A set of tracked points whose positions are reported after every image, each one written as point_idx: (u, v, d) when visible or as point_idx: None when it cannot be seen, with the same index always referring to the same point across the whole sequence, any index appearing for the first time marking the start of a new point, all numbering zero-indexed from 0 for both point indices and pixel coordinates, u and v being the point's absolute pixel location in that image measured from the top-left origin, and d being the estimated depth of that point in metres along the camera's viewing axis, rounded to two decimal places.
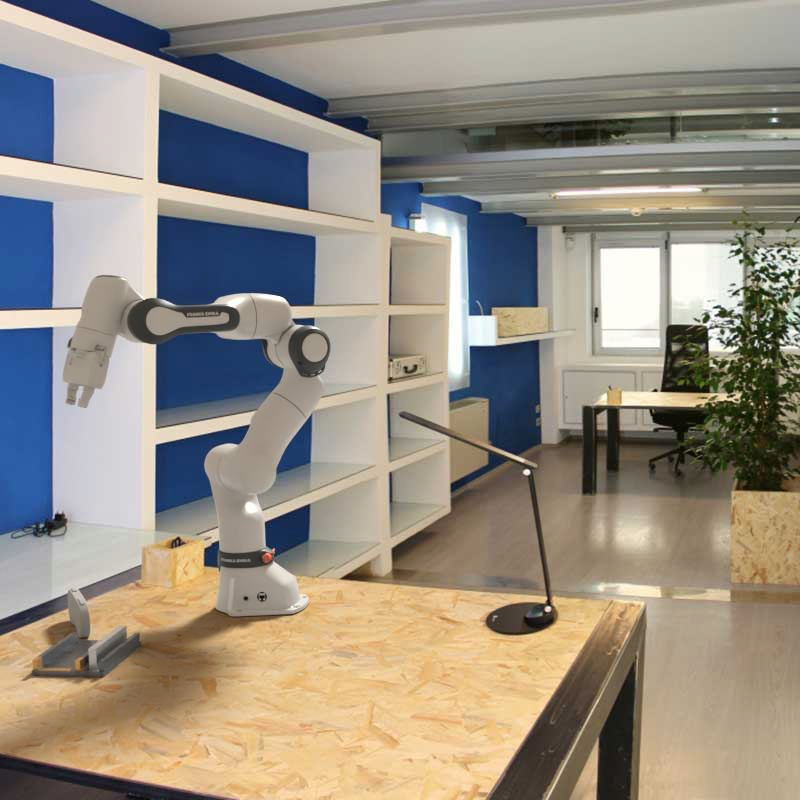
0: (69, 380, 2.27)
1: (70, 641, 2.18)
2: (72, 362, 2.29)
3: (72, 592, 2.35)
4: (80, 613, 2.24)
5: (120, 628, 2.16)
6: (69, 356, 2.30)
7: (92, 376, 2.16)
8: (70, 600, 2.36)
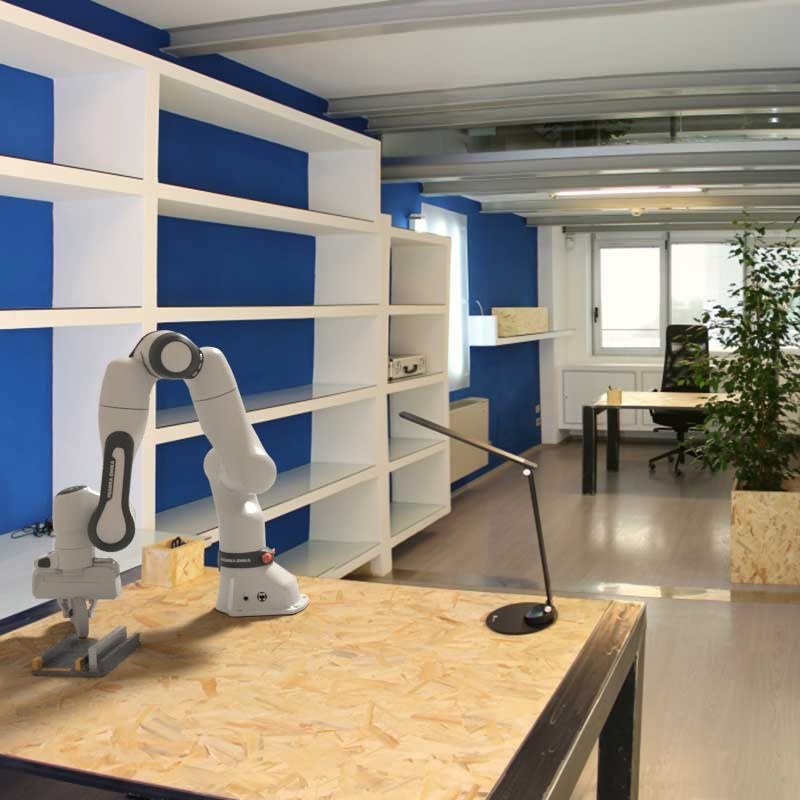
0: (58, 597, 2.31)
1: (70, 641, 2.18)
2: (47, 579, 2.31)
3: None
4: (79, 613, 2.24)
5: (120, 628, 2.16)
6: (40, 574, 2.31)
7: (116, 590, 2.30)
8: (70, 600, 2.36)
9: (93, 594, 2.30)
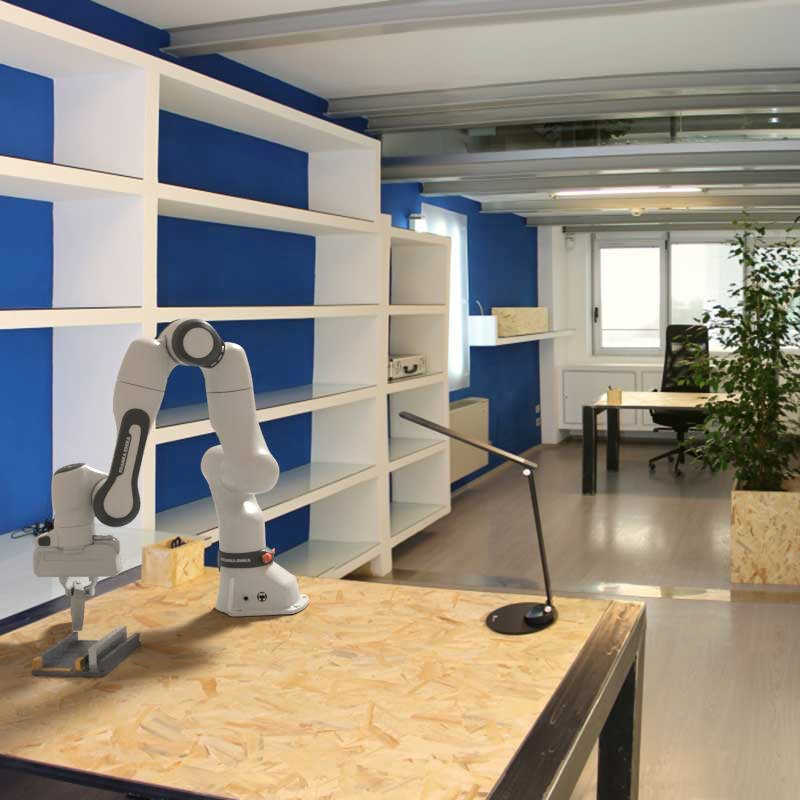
0: (59, 575, 2.31)
1: (70, 641, 2.18)
2: (48, 557, 2.31)
3: (75, 584, 2.35)
4: (75, 606, 2.24)
5: (120, 628, 2.16)
6: (40, 553, 2.31)
7: (117, 567, 2.29)
8: None
9: (94, 571, 2.30)
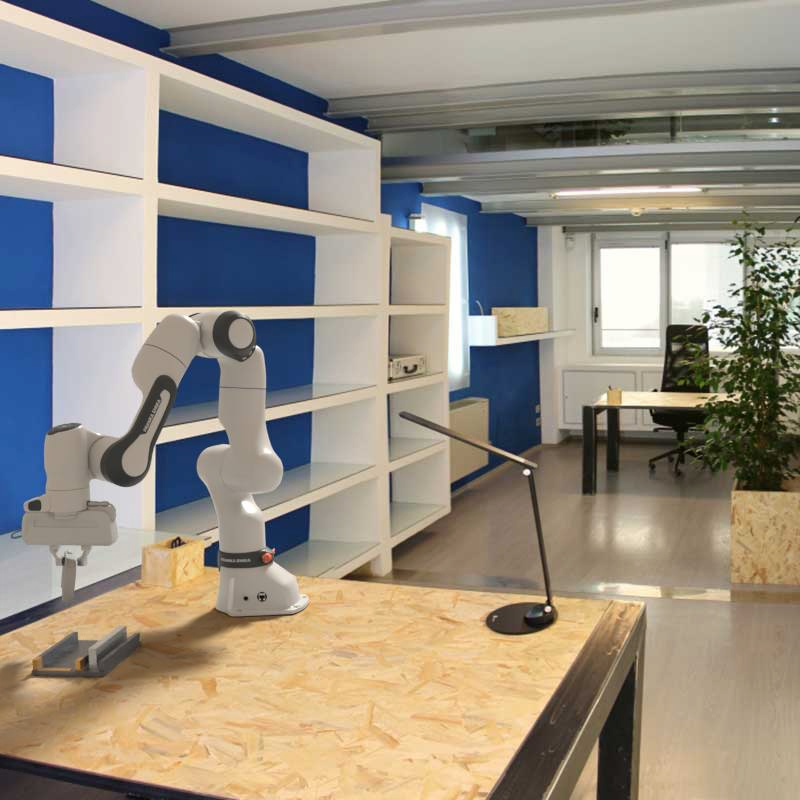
0: (49, 543, 2.15)
1: (70, 641, 2.18)
2: (38, 523, 2.15)
3: (66, 553, 2.18)
4: (66, 575, 2.07)
5: (120, 628, 2.16)
6: (30, 518, 2.14)
7: (112, 536, 2.13)
8: None
9: (87, 540, 2.13)
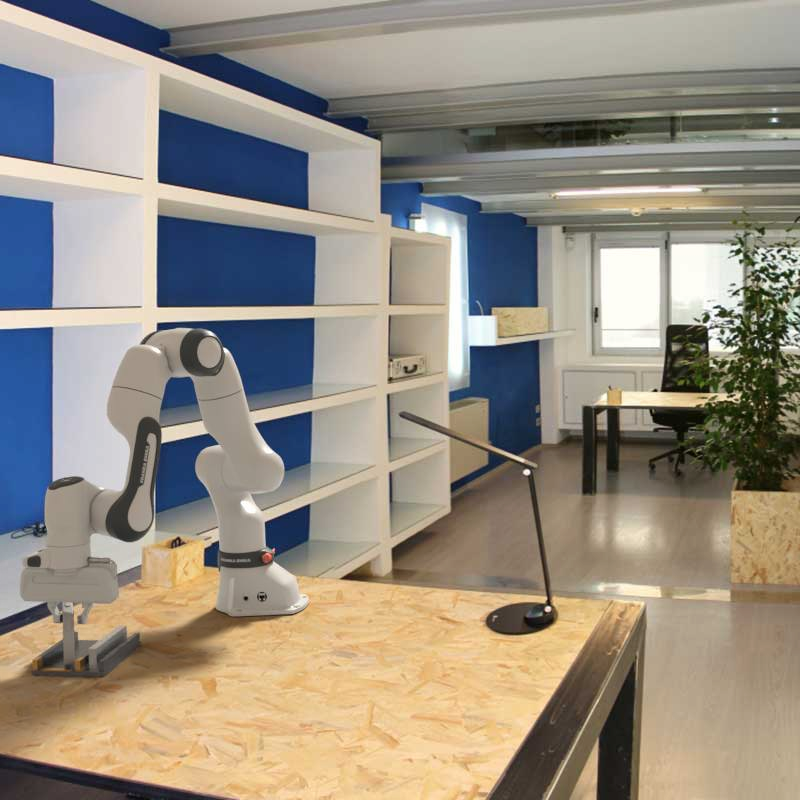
0: (48, 600, 2.09)
1: None
2: (37, 579, 2.10)
3: (64, 607, 2.12)
4: (64, 641, 2.01)
5: (120, 628, 2.16)
6: (29, 574, 2.09)
7: (113, 593, 2.08)
8: None
9: (87, 597, 2.08)
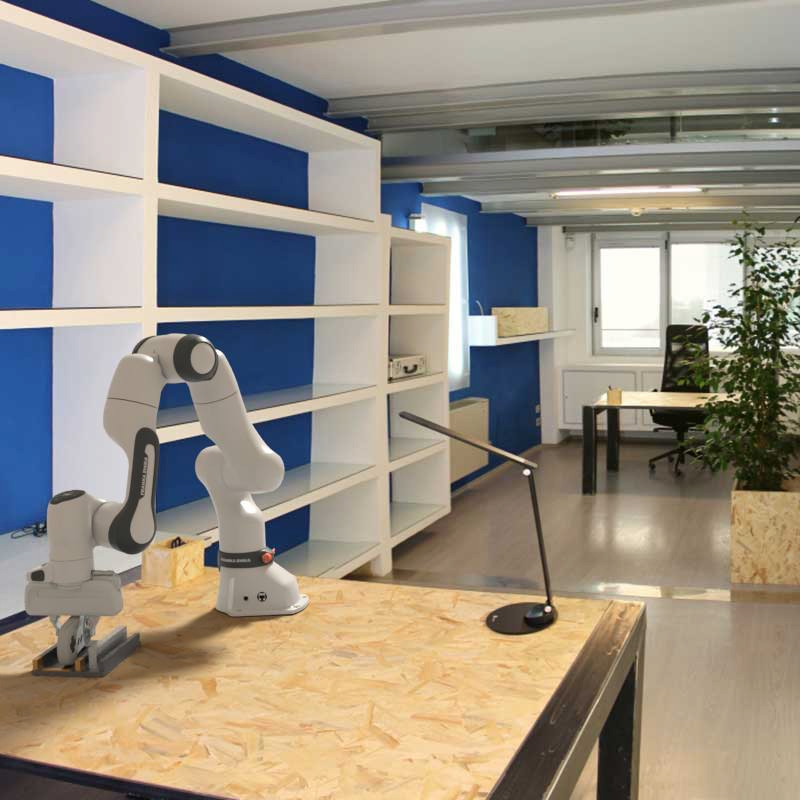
0: (53, 613, 2.10)
1: None
2: (41, 593, 2.10)
3: None
4: (58, 638, 2.02)
5: (120, 628, 2.16)
6: (33, 588, 2.10)
7: (117, 606, 2.08)
8: None
9: (92, 610, 2.09)
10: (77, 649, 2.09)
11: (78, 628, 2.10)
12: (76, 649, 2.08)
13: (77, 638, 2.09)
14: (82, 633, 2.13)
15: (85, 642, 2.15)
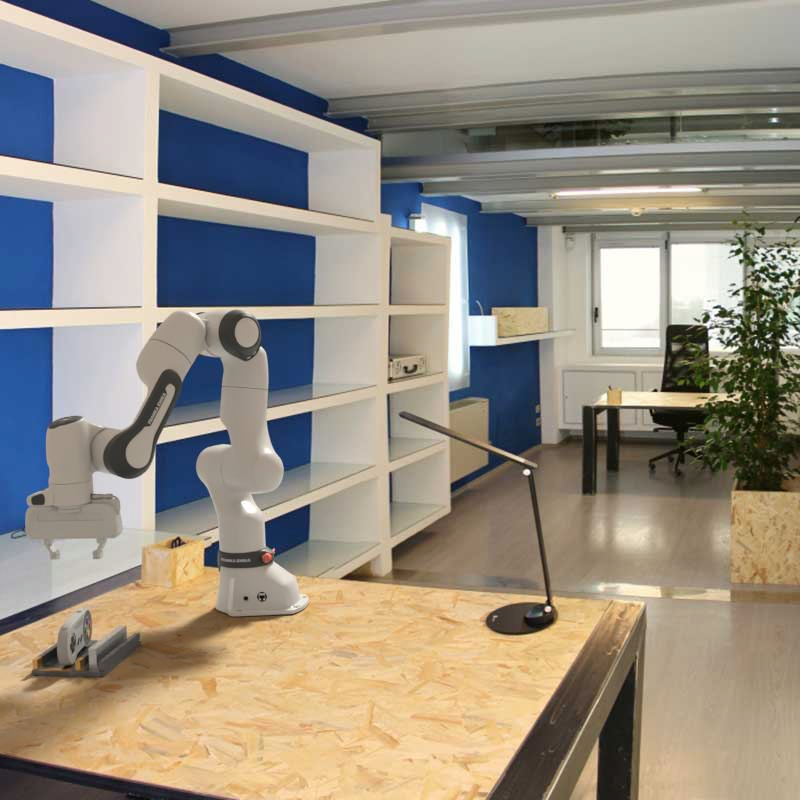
0: (54, 537, 2.14)
1: None
2: (42, 517, 2.14)
3: (75, 612, 2.14)
4: (58, 638, 2.02)
5: (120, 628, 2.16)
6: (34, 513, 2.13)
7: (117, 528, 2.12)
8: None
9: (92, 533, 2.13)
10: (77, 649, 2.09)
11: (78, 628, 2.10)
12: (76, 649, 2.08)
13: (77, 638, 2.09)
14: (82, 633, 2.13)
15: (85, 642, 2.15)
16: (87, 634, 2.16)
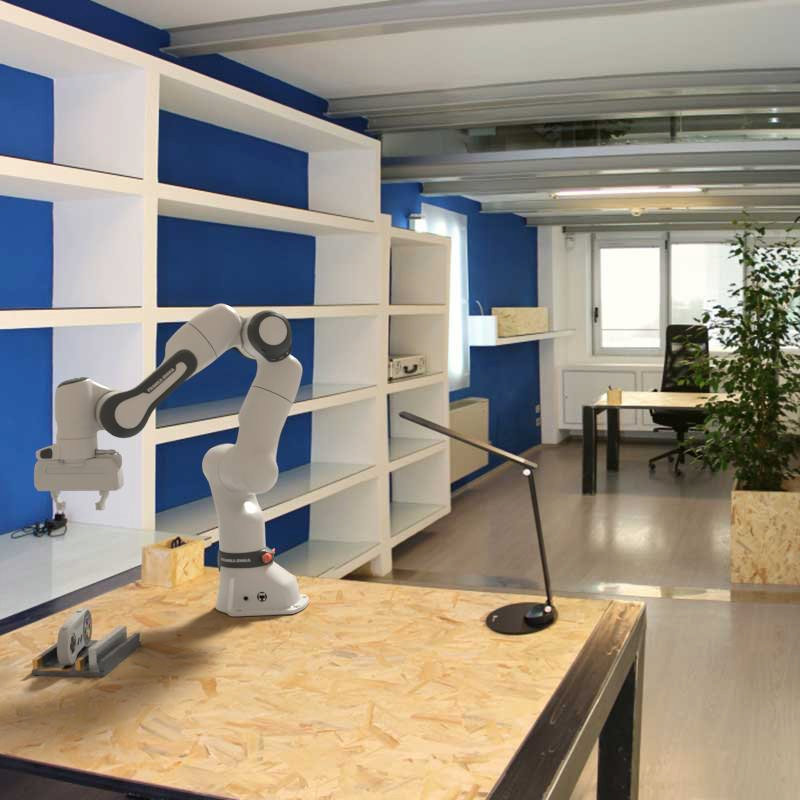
0: (60, 489, 2.31)
1: None
2: (49, 471, 2.31)
3: (75, 612, 2.14)
4: (58, 638, 2.02)
5: (120, 628, 2.16)
6: (42, 466, 2.31)
7: (118, 481, 2.29)
8: None
9: (95, 485, 2.30)
10: (77, 649, 2.09)
11: (78, 628, 2.10)
12: (76, 649, 2.08)
13: (77, 638, 2.09)
14: (82, 633, 2.13)
15: (85, 642, 2.15)
16: (87, 634, 2.16)
